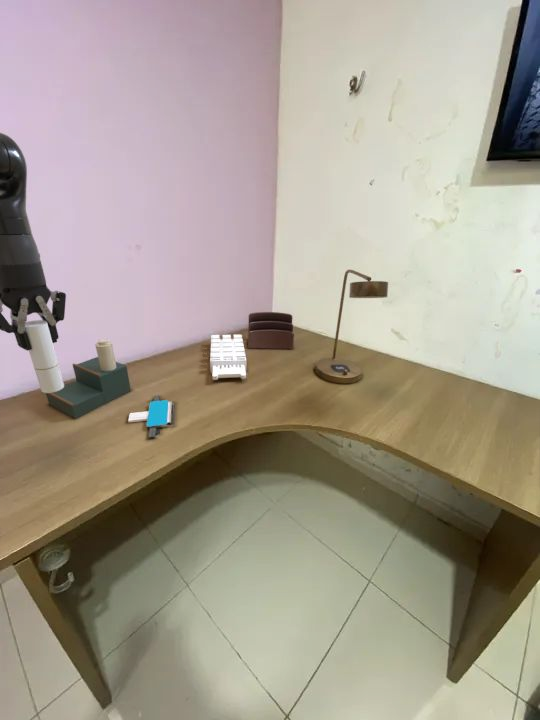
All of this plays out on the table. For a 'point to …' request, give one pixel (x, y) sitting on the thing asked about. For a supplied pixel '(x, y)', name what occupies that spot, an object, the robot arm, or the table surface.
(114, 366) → the cream capped cylinder
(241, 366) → the organizer
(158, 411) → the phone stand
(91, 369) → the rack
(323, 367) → the lamp
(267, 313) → the letter holder
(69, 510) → the table surface
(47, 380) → the tube
